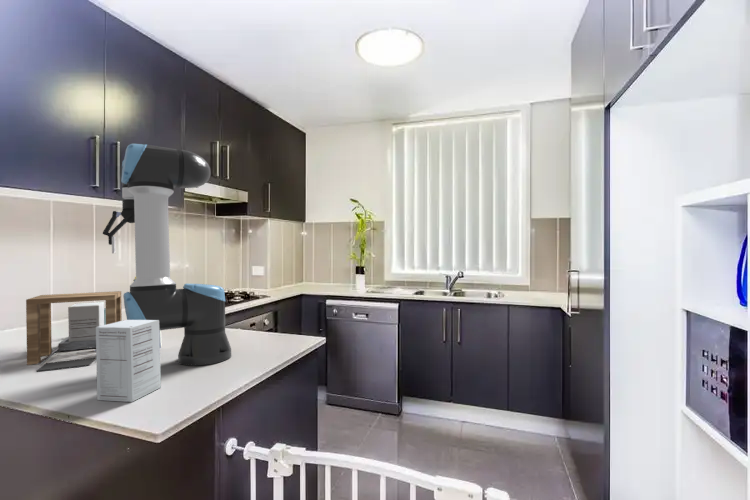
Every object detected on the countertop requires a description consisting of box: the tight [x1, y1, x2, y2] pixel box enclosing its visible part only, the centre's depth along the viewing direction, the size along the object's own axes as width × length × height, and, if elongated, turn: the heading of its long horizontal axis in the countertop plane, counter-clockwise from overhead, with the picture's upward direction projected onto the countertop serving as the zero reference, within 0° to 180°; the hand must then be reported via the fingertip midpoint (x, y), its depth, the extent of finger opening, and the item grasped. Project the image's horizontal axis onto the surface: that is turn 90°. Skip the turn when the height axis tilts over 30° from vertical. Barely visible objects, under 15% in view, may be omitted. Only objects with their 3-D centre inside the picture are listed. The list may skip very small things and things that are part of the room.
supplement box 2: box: [95, 319, 162, 403], centre depth 89 cm, size 10×9×17 cm
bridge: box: [25, 290, 123, 366], centre depth 123 cm, size 12×22×20 cm, turn 116°
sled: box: [57, 307, 106, 352], centre depth 141 cm, size 26×14×10 cm, turn 26°
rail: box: [37, 347, 59, 365], centre depth 129 cm, size 28×16×1 cm, turn 26°
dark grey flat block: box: [36, 357, 96, 373], centre depth 112 cm, size 8×12×1 cm, turn 116°
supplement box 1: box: [67, 301, 105, 350], centre depth 134 cm, size 9×9×15 cm
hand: (134, 253), depth 150 cm, fingers open, 13 cm apart
